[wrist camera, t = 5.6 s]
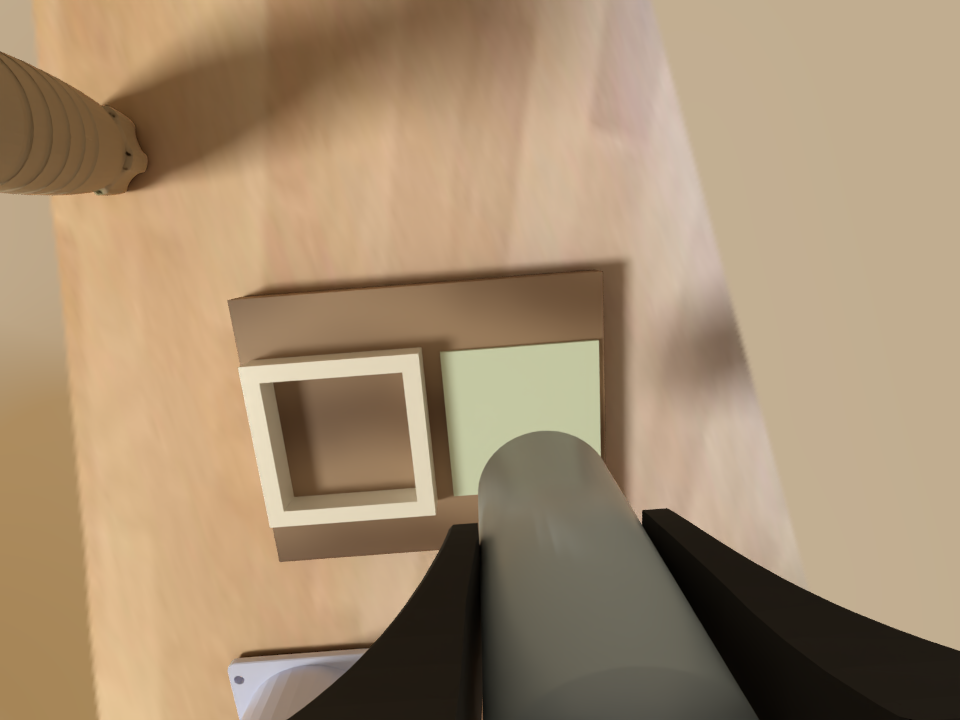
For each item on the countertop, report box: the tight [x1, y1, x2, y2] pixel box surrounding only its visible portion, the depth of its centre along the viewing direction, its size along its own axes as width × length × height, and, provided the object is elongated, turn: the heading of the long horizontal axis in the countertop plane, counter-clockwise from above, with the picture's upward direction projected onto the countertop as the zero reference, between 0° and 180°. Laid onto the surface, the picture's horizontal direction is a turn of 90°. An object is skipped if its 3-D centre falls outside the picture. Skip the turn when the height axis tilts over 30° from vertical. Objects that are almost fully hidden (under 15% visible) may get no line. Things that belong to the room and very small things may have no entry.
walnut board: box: [227, 270, 605, 562], centre depth 21 cm, size 12×15×1 cm
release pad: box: [440, 340, 601, 496], centre depth 20 cm, size 6×6×1 cm
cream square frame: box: [238, 347, 438, 528], centre depth 20 cm, size 7×7×1 cm
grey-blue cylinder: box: [478, 431, 759, 720], centre depth 11 cm, size 4×4×8 cm
